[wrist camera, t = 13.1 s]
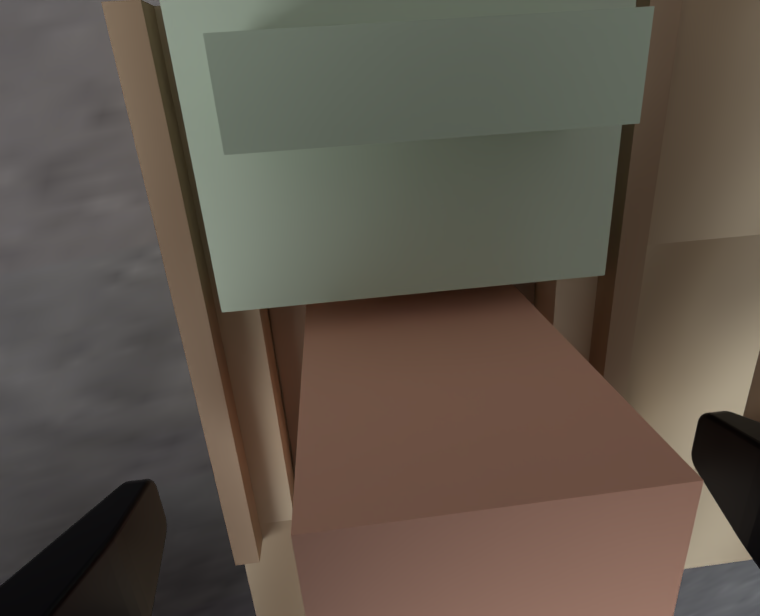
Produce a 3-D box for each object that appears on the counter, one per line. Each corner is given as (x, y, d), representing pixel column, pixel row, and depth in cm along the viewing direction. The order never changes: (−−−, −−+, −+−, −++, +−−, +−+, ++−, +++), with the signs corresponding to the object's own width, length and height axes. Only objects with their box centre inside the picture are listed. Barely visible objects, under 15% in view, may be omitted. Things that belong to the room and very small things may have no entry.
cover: (625, -191, 7) (782, -332, 5) (583, 261, 10) (669, 318, 7) (140, -176, 7) (39, -323, 4) (230, 294, 9) (197, 368, 7)
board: (1075, -30, 10) (1297, -65, 8) (873, 479, 16) (972, 550, 13) (158, 23, 9) (101, 1, 7) (267, 559, 14) (256, 653, 12)
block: (504, 275, 11) (704, 479, 5) (500, 437, 12) (647, 726, 7) (306, 296, 10) (290, 535, 5) (328, 458, 12) (335, 779, 6)
